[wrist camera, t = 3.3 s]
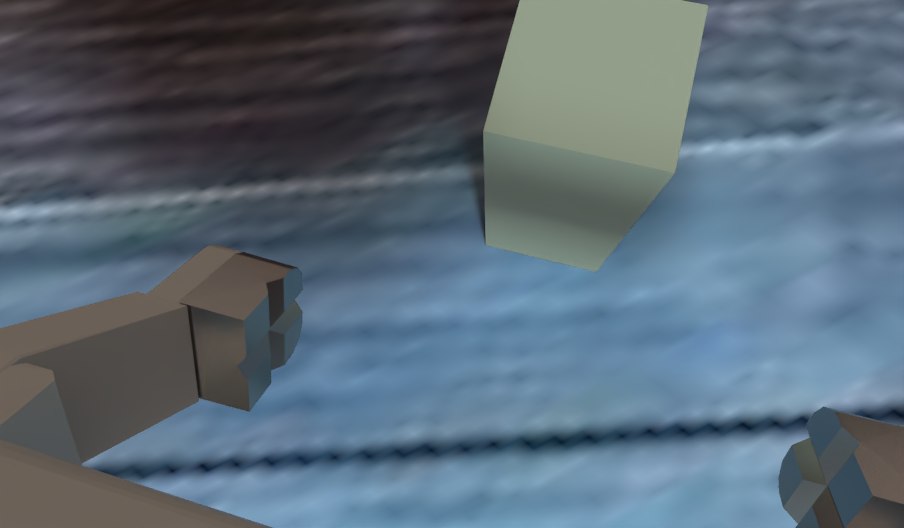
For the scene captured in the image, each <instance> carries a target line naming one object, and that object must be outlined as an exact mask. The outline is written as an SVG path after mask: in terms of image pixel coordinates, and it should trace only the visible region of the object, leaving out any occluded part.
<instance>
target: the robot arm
mask: <svg viewBox="0 0 904 528" xmlns="http://www.w3.org/2000/svg"><path fill="white" fill-rule="evenodd" d="M302 290H303V287H302V273H301V271H300V270H299V269H298V268H297V267H294V266H290V265H287V264H283V263H280V262H276V261H273V260H269V259H266V258H262V257H259V256H255V255H252V254H248V253H245V252H240V251H237V250H234V249H230V248H226V247H222V246H219V245H210V246H207V247H205V248H204V249H203V250H202V251H200V252H199V253H198V254H197V255H195V256H194V257H193V258H192V259H190V260H189V261H188V262H187V263H185V264H184V265H183V266H181V267H180V268H179V269H178V270H176V271H175V272H174V273H173V274H171V275H170V276H169V277H168V278H166V279H165V280H164V281H163V282H161V283H160V284H159V285H158V286H156V287H155V288H154V289H153V290H151V291H150V292H149V293H148V294H143V293H139V292H136V293H132V294H128V295H124V296H121V297H117V298H113V299H109V300H105V301H102V302H98V303H94V304H90V305H87V306H83V307H79V308H75V309H72V310H68V311H64V312H60V313H56V314H53V315H49V316H45V317H41V318H38V319H34V320H30V321H26V322H23V323H19V324H15V325H11V326H7V327H4V328H0V528H272V527H269V526H266V525H263V524H260V523H257V522H254V521H251V520H248V519H244V518H241V517H238V516H235V515H232V514H229V513H226V512H223V511H220V510H217V509H214V508H211V507H207V506H204V505H201V504H198V503H195V502H192V501H189V500H186V499H183V498H180V497H177V496H174V495H170V494H167V493H164V492H161V491H158V490H155V489H152V488H149V487H146V486H143V485H140V484H137V483H134V482H130V481H127V480H124V479H121V478H118V477H115V476H112V475H109V474H106V473H103V472H100V471H97V470H93V469H90V468H87V467H84V466H82V463H83V462H85V461H87V460H89V459H91V458H93V457H95V456H97V455H98V454H100V453H102V452H104V451H106V450H108V449H110V448H112V447H113V446H115V445H117V444H119V443H121V442H123V441H125V440H127V439H129V438H130V437H132V436H134V435H136V434H138V433H140V432H142V431H144V430H145V429H147V428H149V427H151V426H153V425H155V424H157V423H159V422H161V421H162V420H164V419H166V418H168V417H170V416H172V415H174V414H176V413H177V412H179V411H181V410H183V409H185V408H187V407H189V406H191V405H193V404H194V403H196V402H198V401H199V398H200V399H204V400H208V401H211V402H215V403H219V404H223V405H226V406H230V407H234V408H237V409H241V410H245V411H249V412H250V411H251V409H252V408H253V407H254V405H255V404H256V403H257V401H258V400H259V399H260V397H261V396H262V395H263V393H264V392H265V391H266V389H267V388H268V387H269V385H270V384H271V370H273V369H276V368H278V367H281V366H283V365H285V364H286V362H287V361H288V359H289V358H290V357H291V355H292V354H293V352H294V349H295V347H296V345H297V342H298V340H299V337H300V333H301V327H302V310H301V309H300V307H299V306H298V304H297V303H296V301H295V299H296V297H297V296H298V295H299V294H300V293H301V291H302ZM806 427H807V431H808V434H809V437H810V438H808V439H806V440H803V441H801V442H799V443H796V444H794V445H792V446H791V448H790V449H789V451H788V452H787V454H786V456H785V457H784V459H783V461H782V465H781V469H780V474H779V494H780V497H781V501H782V505H783V508H784V509H785V510H786V511H787V512H788V513H789V515H790V516H791V517H792V518H793V519H794V520H795V521H796V522H797V523H798V525H797V526H796V528H904V426H902V425H893V424H889V423H885V422H881V421H877V420H873V419H869V418H866V417H862V416H858V415H854V414H850V413H846V412H842V411H838V410H835V409H831V408H827V407H822V408H821V409H819V410H818V411H816V412H815V413H814V414H813V415H812V417H811V418H810V420H809V421H808V422H807V424H806Z"/></svg>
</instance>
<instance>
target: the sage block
mask: <svg viewBox="0 0 904 528" xmlns="http://www.w3.org/2000/svg"><path fill="white" fill-rule="evenodd" d="M707 9H708V5H703V4H698V3H693V2H687V1H682V0H520V1H519V5H518V8H517V12H516V15H515V19H514V23H513V26H512V30H511V33H510V37H509V41H508V44H507V48H506V51H505V55H504V58H503V62H502V66H501V69H500V73H499V76H498V80H497V83H496V87H495V91H494V94H493V98H492V101H491V105H490V108H489V112H488V116H487V119H486V123H485V126H484V130H483V144H484V190H485V236H486V245H487V246H491V247H495V248H499V249H504V250H508V251H512V252H516V253H520V254H524V255H528V256H532V257H536V258H540V259H545V260H549V261H553V262H557V263H561V264H565V265H569V266H573V267H577V268H582V269H586V270H590V271H594V272H596V271H597V270H598V269H599V268H600V266H601V265H602V264H603V263H604V261H605V260H606V259H607V258H608V256H609V255H610V254H611V253H612V251H613V250H614V249H615V248H616V246H617V245H618V244H619V243H620V241H621V240H622V239H623V238H624V236H625V235H626V234H627V233H628V231H629V230H630V229H631V228H632V226H633V225H634V224H635V223H636V221H637V220H638V219H639V218H640V216H641V215H642V214H643V213H644V211H645V210H646V209H647V208H648V206H649V205H650V204H651V202H652V201H653V200H654V199H655V197H656V196H657V195H658V194H659V192H660V191H661V190H662V189H663V187H664V186H665V185H666V184H667V182H668V181H669V180H670V179H671V177H672V176H673V175H674V174H675V170H676V165H677V160H678V155H679V150H680V145H681V140H682V135H683V130H684V125H685V120H686V115H687V110H688V105H689V100H690V95H691V90H692V85H693V80H694V75H695V70H696V65H697V59H698V54H699V49H700V44H701V39H702V34H703V29H704V24H705V19H706V14H707Z"/></svg>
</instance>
